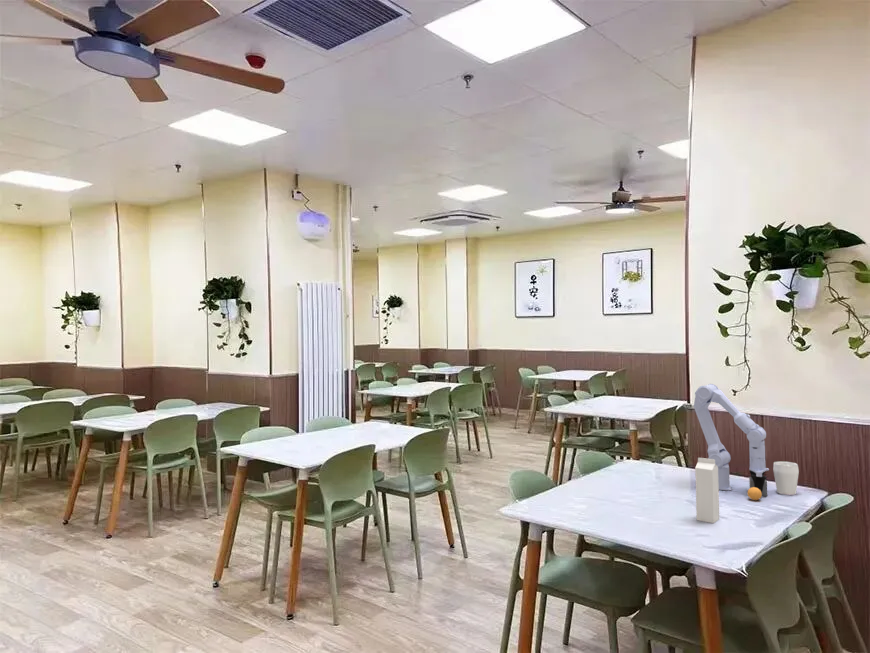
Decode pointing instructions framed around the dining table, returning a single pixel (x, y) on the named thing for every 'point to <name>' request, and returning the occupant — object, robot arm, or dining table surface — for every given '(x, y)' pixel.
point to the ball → (754, 493)
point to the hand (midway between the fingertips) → (758, 490)
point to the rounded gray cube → (764, 491)
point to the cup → (786, 477)
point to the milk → (707, 490)
